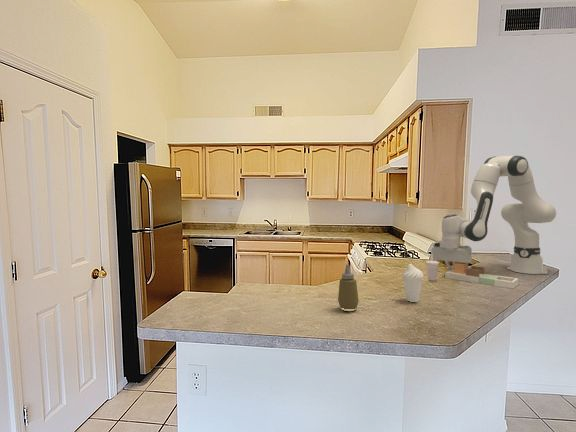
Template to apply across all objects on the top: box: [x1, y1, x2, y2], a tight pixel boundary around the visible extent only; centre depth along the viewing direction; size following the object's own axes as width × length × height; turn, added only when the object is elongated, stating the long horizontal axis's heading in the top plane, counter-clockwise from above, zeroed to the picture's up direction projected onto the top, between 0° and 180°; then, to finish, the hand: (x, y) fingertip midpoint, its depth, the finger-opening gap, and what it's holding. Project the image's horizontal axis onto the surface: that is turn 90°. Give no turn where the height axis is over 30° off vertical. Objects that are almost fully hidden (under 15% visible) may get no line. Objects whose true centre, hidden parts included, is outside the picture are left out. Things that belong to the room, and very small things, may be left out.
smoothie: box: [425, 253, 440, 282], centre depth 165 cm, size 6×6×14 cm
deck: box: [444, 265, 520, 289], centre depth 161 cm, size 10×30×6 cm, turn 42°
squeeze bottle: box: [337, 264, 360, 309], centre depth 123 cm, size 8×8×18 cm
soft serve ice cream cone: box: [401, 263, 424, 303], centre depth 131 cm, size 8×8×16 cm
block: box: [454, 262, 469, 274], centre depth 168 cm, size 5×5×5 cm
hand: (450, 269), depth 172 cm, fingers closed
